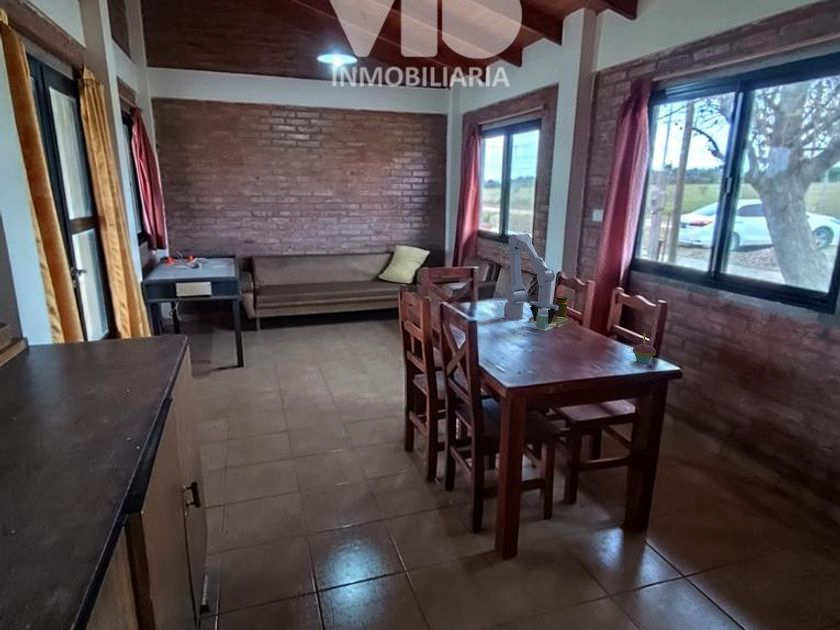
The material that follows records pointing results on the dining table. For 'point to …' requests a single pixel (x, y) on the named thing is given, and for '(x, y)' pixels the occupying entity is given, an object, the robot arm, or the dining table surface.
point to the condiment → (561, 306)
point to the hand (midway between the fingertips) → (542, 322)
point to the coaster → (542, 329)
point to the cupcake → (644, 352)
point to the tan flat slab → (554, 321)
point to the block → (542, 321)
